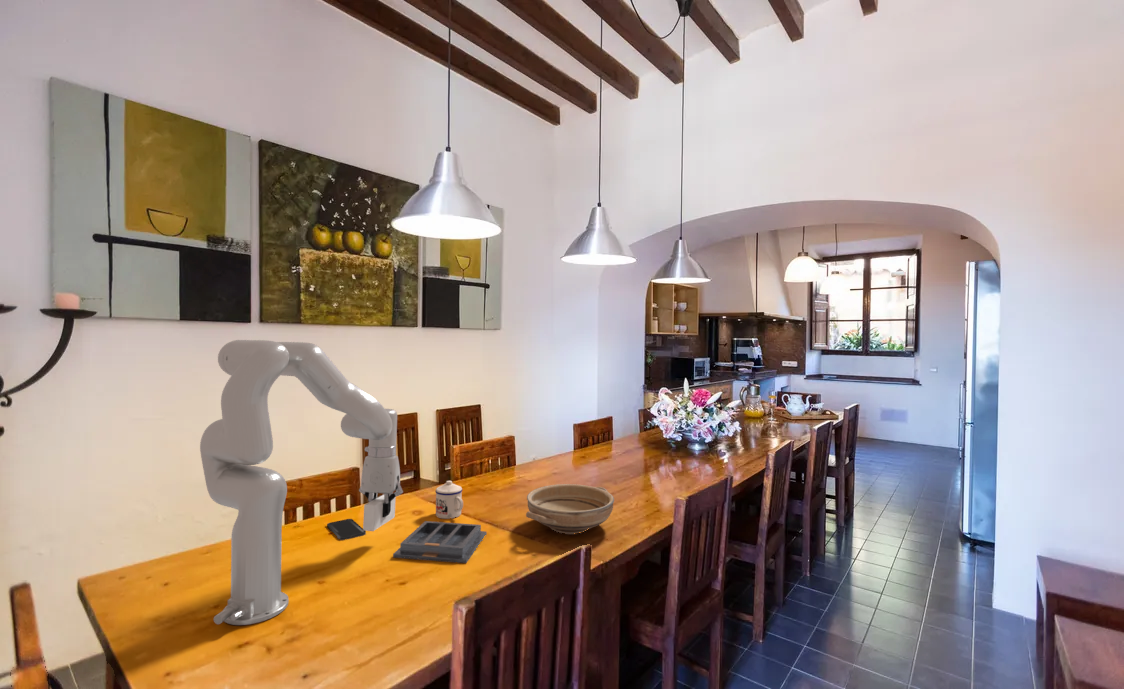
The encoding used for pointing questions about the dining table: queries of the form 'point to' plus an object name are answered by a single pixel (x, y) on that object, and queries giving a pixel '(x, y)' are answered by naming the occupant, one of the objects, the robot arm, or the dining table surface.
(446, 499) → the teacup with lid
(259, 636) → the dining table surface
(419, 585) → the dining table surface
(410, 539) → the rack
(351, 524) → the phone
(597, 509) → the ceramic bowl
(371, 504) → the panel
